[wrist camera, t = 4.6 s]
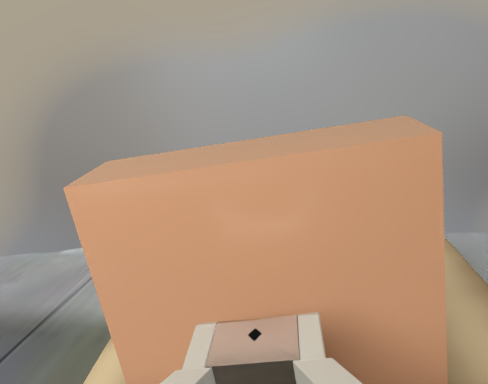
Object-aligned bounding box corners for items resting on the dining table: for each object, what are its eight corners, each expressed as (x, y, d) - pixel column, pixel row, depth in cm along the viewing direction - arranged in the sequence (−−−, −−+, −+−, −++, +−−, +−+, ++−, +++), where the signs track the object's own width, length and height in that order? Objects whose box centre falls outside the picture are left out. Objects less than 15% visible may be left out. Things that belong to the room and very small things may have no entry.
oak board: (446, 250, 31) (446, 238, 31) (870, 751, 9) (884, 727, 8) (153, 282, 35) (150, 272, 34) (-87, 705, 12) (-101, 686, 12)
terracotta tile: (420, 427, 17) (404, 114, 13) (450, 509, 14) (441, 132, 10) (187, 439, 18) (109, 159, 14) (169, 515, 15) (62, 188, 11)
